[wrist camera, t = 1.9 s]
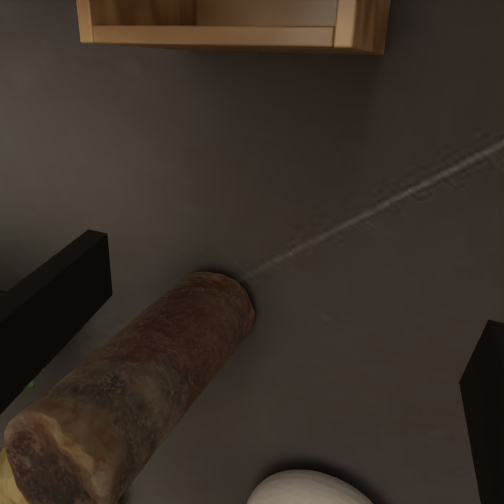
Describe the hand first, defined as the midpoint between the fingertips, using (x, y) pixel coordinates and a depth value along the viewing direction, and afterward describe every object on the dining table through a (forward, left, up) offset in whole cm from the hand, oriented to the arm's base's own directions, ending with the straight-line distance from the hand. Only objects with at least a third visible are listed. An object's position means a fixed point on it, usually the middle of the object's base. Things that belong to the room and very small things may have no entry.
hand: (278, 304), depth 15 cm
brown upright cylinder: (+16, -4, -19) cm, 25 cm away
